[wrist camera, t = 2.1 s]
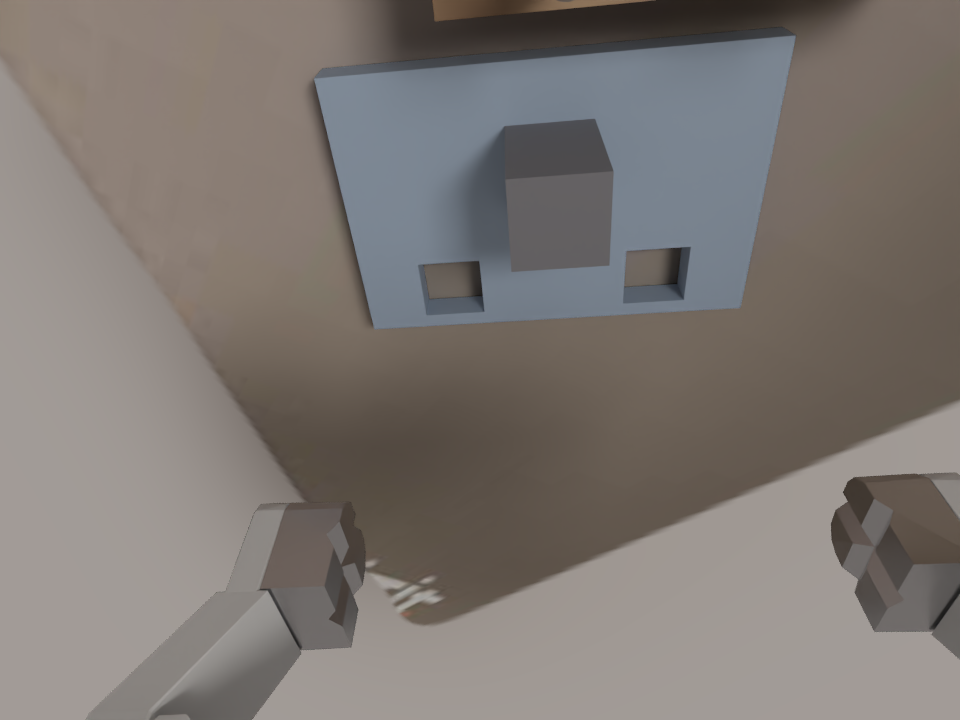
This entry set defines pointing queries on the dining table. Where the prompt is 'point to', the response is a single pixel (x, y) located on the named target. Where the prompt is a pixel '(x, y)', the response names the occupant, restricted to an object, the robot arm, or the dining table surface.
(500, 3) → the wooden box with pegs
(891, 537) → the robot arm
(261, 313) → the dining table surface
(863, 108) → the dining table surface
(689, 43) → the grey peg base plate
